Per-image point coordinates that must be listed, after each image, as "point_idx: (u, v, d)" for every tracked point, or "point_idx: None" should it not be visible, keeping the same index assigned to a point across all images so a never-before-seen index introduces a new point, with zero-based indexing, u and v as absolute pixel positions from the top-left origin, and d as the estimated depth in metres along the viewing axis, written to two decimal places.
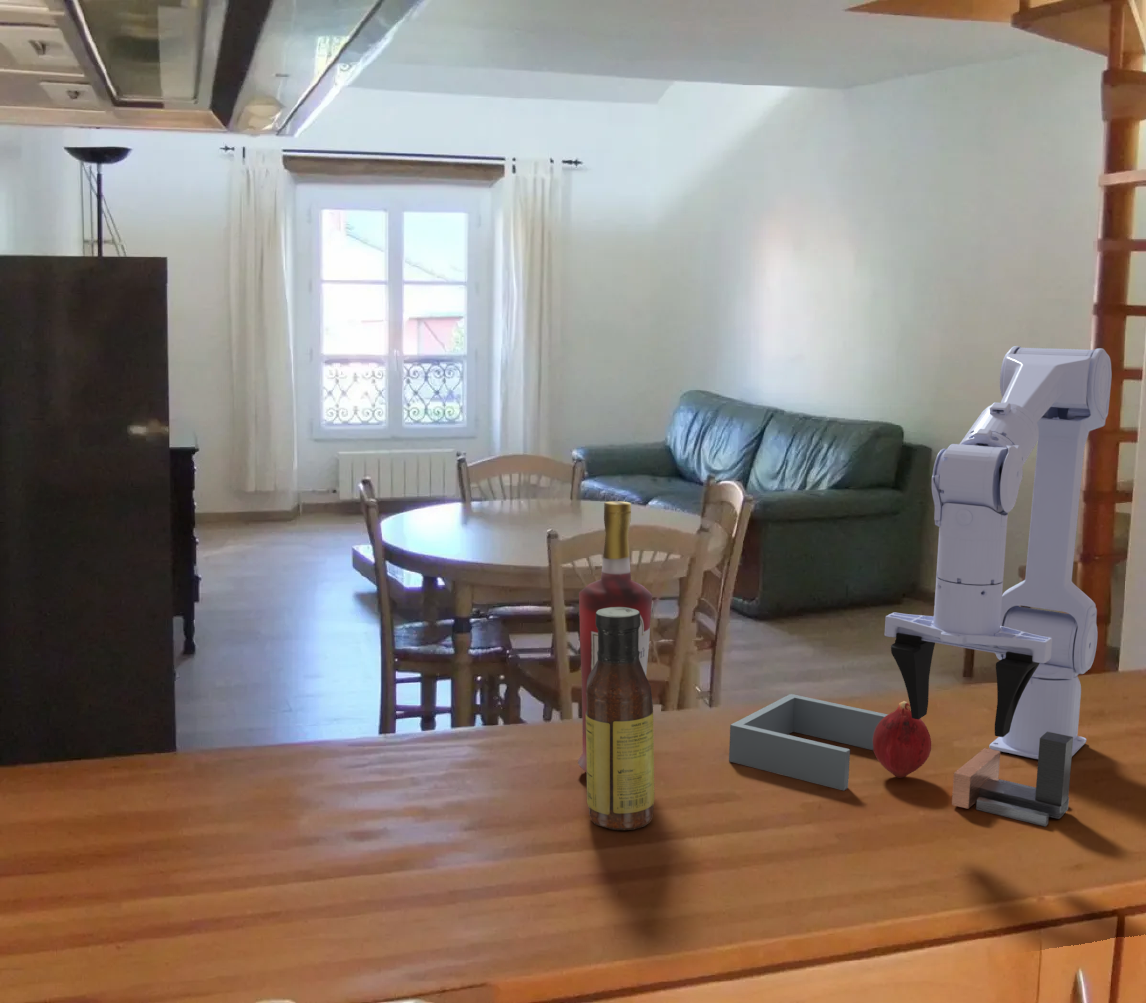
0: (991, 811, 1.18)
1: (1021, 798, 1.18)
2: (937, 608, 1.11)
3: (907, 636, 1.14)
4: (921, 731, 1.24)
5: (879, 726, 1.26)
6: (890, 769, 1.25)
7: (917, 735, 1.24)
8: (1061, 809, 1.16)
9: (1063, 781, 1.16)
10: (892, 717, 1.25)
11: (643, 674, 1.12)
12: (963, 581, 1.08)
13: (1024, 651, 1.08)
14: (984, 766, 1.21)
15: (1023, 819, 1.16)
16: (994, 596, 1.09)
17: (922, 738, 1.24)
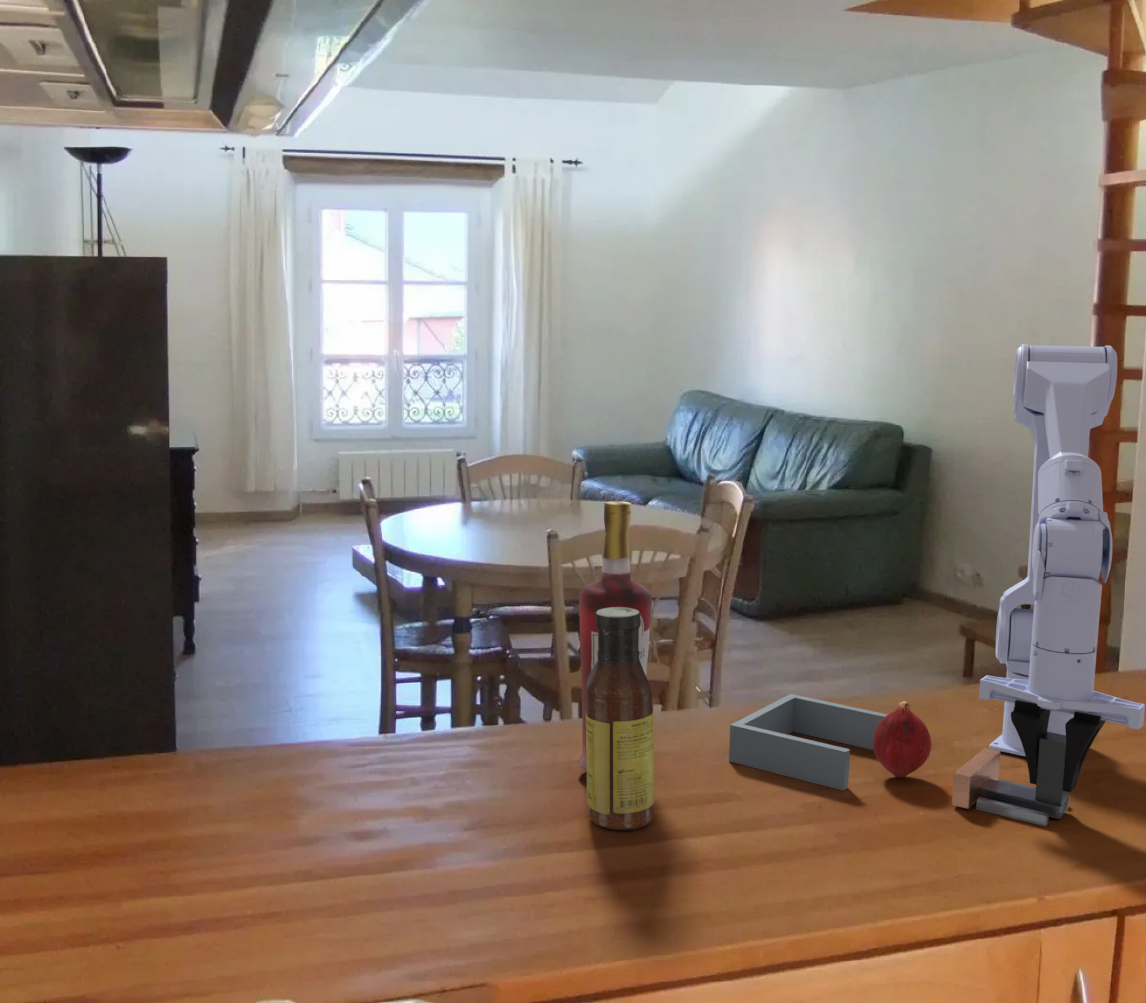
0: (991, 811, 1.18)
1: (1021, 798, 1.18)
2: (1033, 674, 1.16)
3: (1026, 704, 1.17)
4: (921, 731, 1.24)
5: (879, 726, 1.26)
6: (890, 769, 1.25)
7: (917, 735, 1.24)
8: (1061, 809, 1.16)
9: None
10: (892, 717, 1.25)
11: (643, 674, 1.12)
12: (1071, 651, 1.13)
13: (1118, 717, 1.13)
14: (984, 766, 1.21)
15: (1023, 819, 1.16)
16: (1089, 664, 1.13)
17: (922, 738, 1.24)
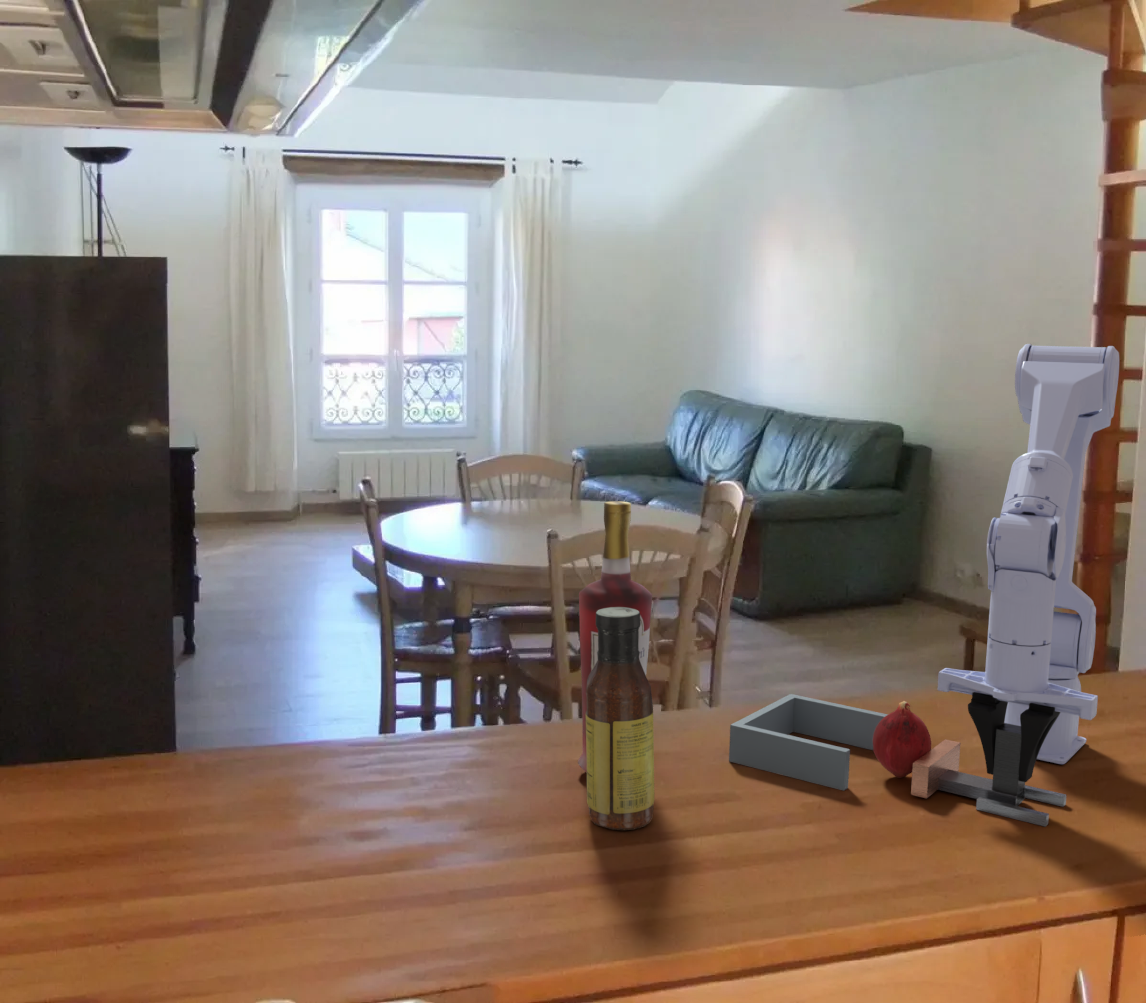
0: (991, 811, 1.18)
1: (978, 788, 1.20)
2: (989, 666, 1.18)
3: (983, 696, 1.20)
4: (921, 731, 1.24)
5: (879, 726, 1.26)
6: (890, 769, 1.25)
7: (917, 735, 1.24)
8: (1017, 799, 1.19)
9: None
10: (892, 717, 1.25)
11: (643, 674, 1.12)
12: (1018, 643, 1.15)
13: (1071, 708, 1.16)
14: (943, 757, 1.23)
15: (1023, 819, 1.16)
16: (1043, 656, 1.16)
17: (922, 738, 1.24)
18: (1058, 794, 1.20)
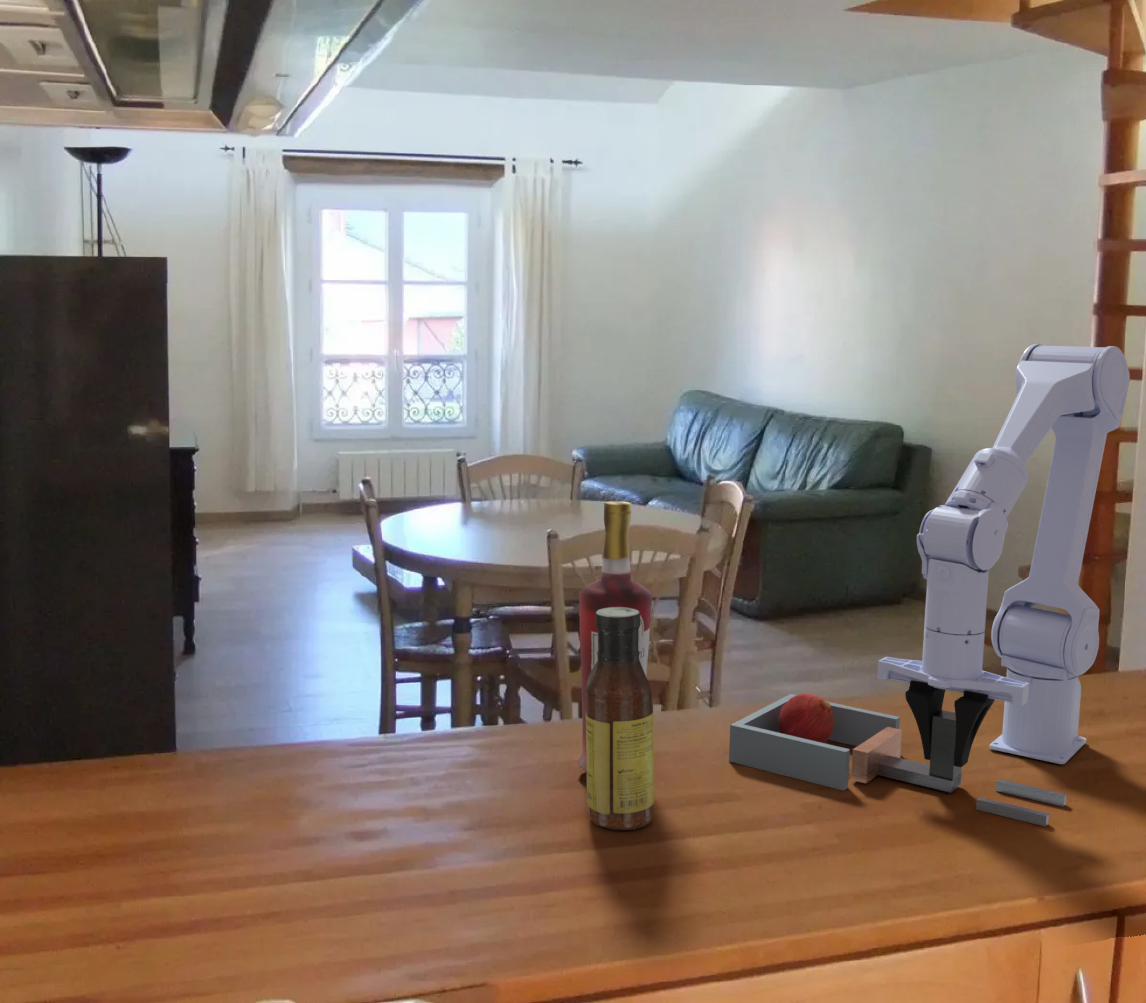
0: (991, 811, 1.18)
1: (916, 773, 1.24)
2: (925, 654, 1.22)
3: (920, 683, 1.24)
4: None
5: None
6: (810, 716, 1.31)
7: None
8: (953, 783, 1.23)
9: None
10: None
11: (643, 674, 1.12)
12: (942, 630, 1.19)
13: (1004, 695, 1.19)
14: (883, 743, 1.27)
15: (1023, 819, 1.16)
16: (977, 644, 1.20)
17: None
18: (1058, 794, 1.20)
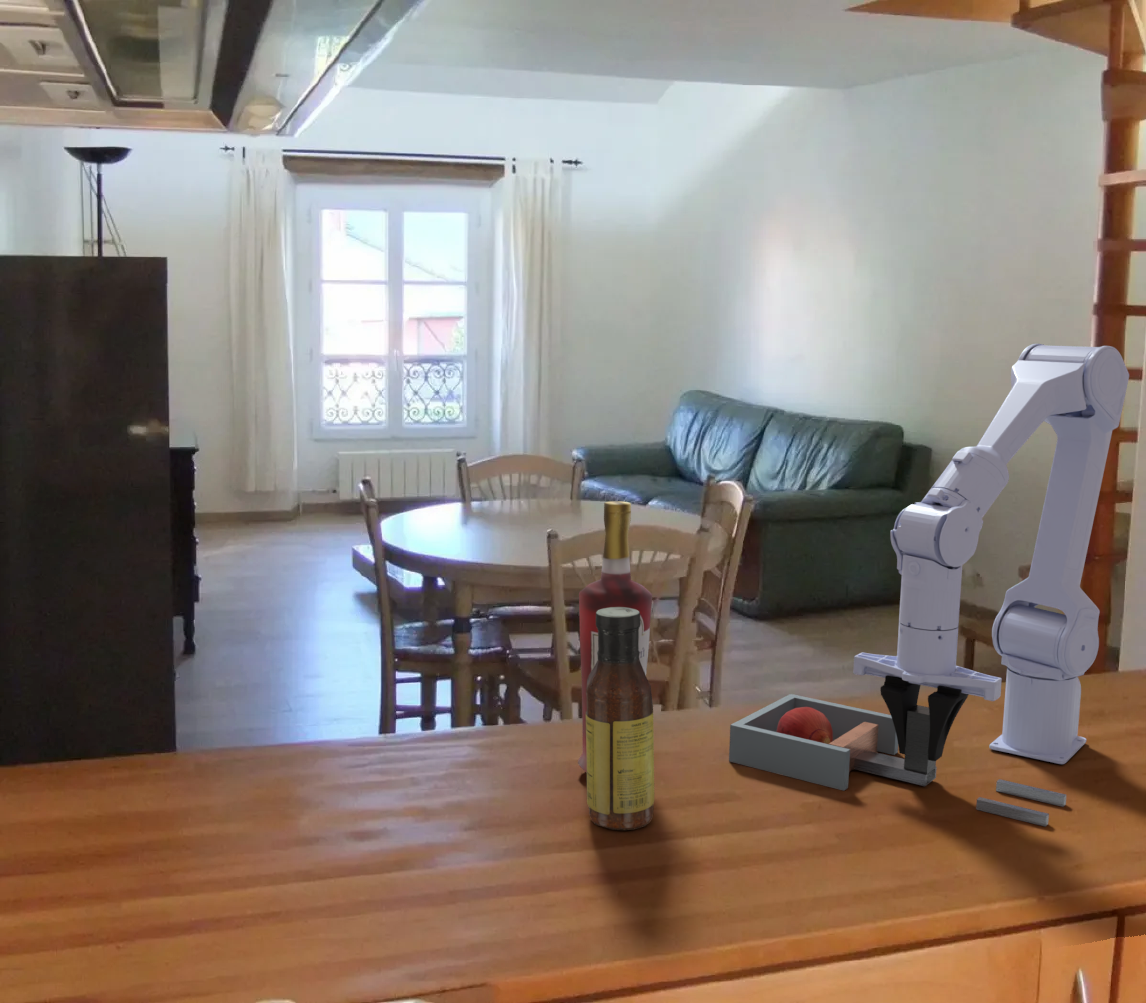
0: (991, 811, 1.18)
1: (891, 767, 1.26)
2: (900, 650, 1.23)
3: (895, 679, 1.25)
4: (779, 722, 1.31)
5: None
6: None
7: (777, 728, 1.31)
8: (927, 777, 1.24)
9: None
10: None
11: (643, 674, 1.12)
12: (912, 625, 1.21)
13: (977, 690, 1.21)
14: (859, 738, 1.29)
15: (1023, 819, 1.16)
16: (950, 640, 1.21)
17: (779, 724, 1.31)
18: (1058, 794, 1.20)
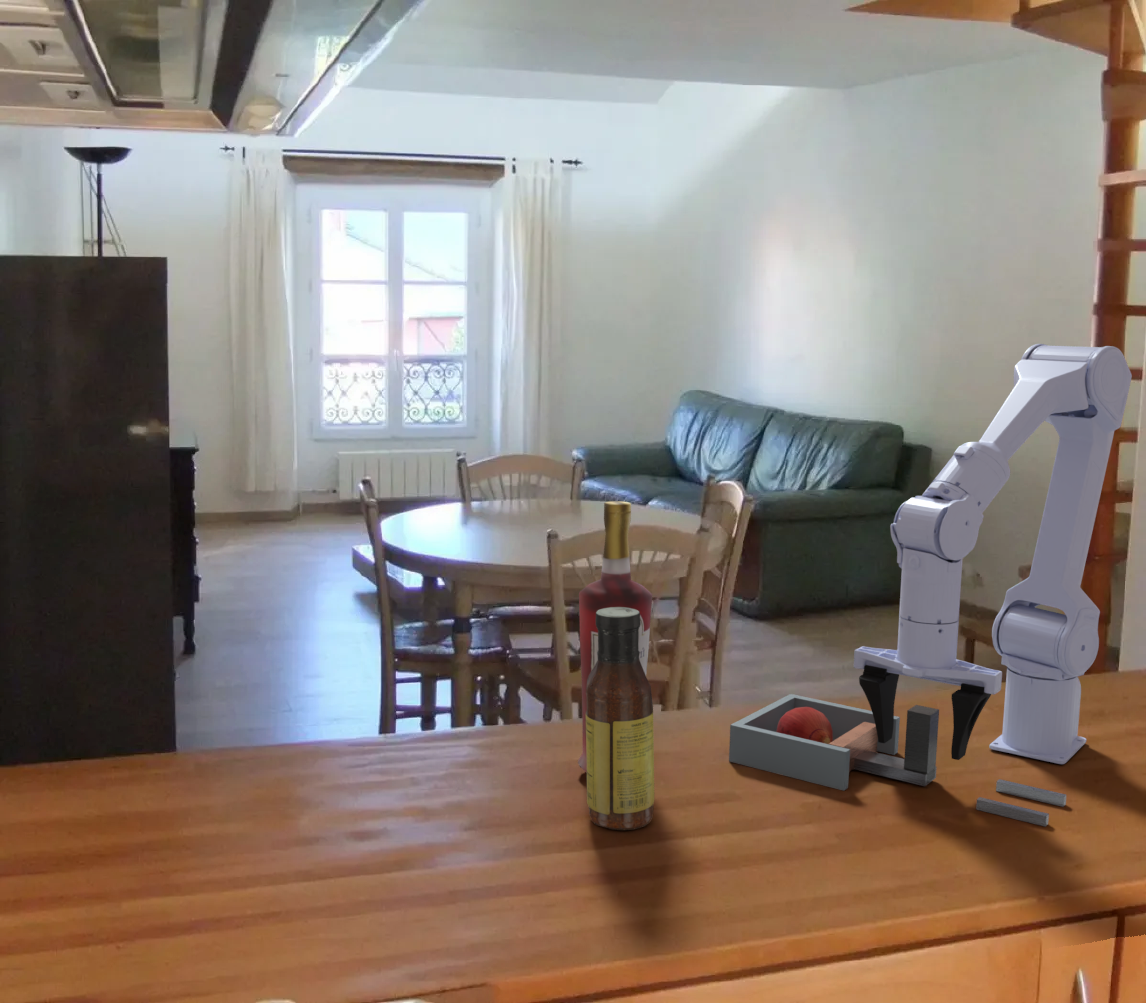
0: (991, 811, 1.18)
1: (891, 767, 1.26)
2: (900, 643, 1.23)
3: (874, 668, 1.26)
4: (779, 722, 1.31)
5: None
6: None
7: (777, 728, 1.31)
8: (927, 777, 1.24)
9: (928, 751, 1.24)
10: None
11: (643, 674, 1.12)
12: (912, 619, 1.21)
13: (977, 683, 1.21)
14: (859, 738, 1.29)
15: (1023, 819, 1.16)
16: (950, 633, 1.21)
17: (779, 724, 1.31)
18: (1058, 794, 1.20)
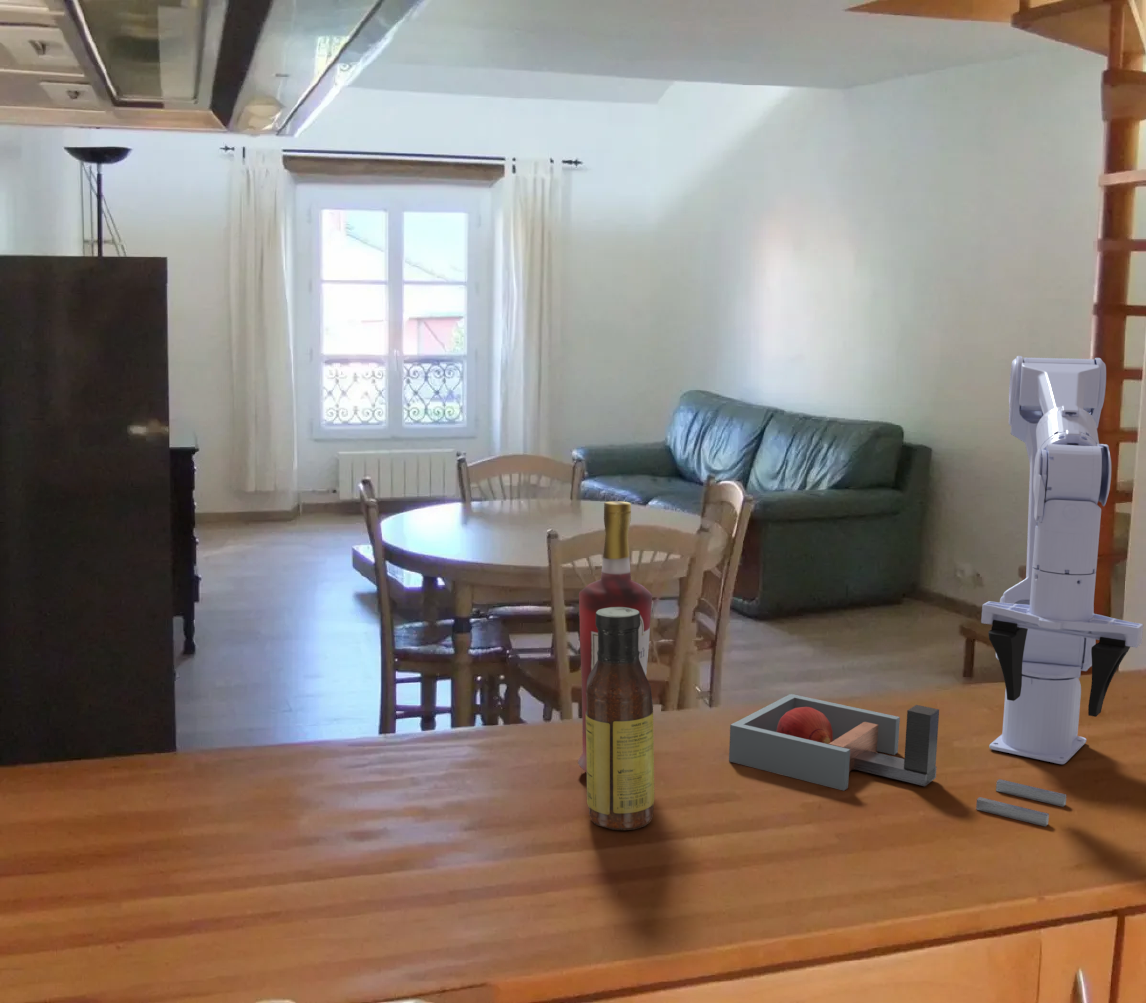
0: (991, 811, 1.18)
1: (891, 767, 1.26)
2: (1034, 596, 1.19)
3: (1003, 623, 1.22)
4: (779, 722, 1.31)
5: None
6: None
7: (777, 728, 1.31)
8: (927, 777, 1.24)
9: (928, 751, 1.24)
10: None
11: (643, 674, 1.12)
12: (1071, 572, 1.16)
13: (1117, 636, 1.16)
14: (859, 738, 1.29)
15: (1023, 819, 1.16)
16: (1089, 585, 1.17)
17: (779, 724, 1.31)
18: (1058, 794, 1.20)
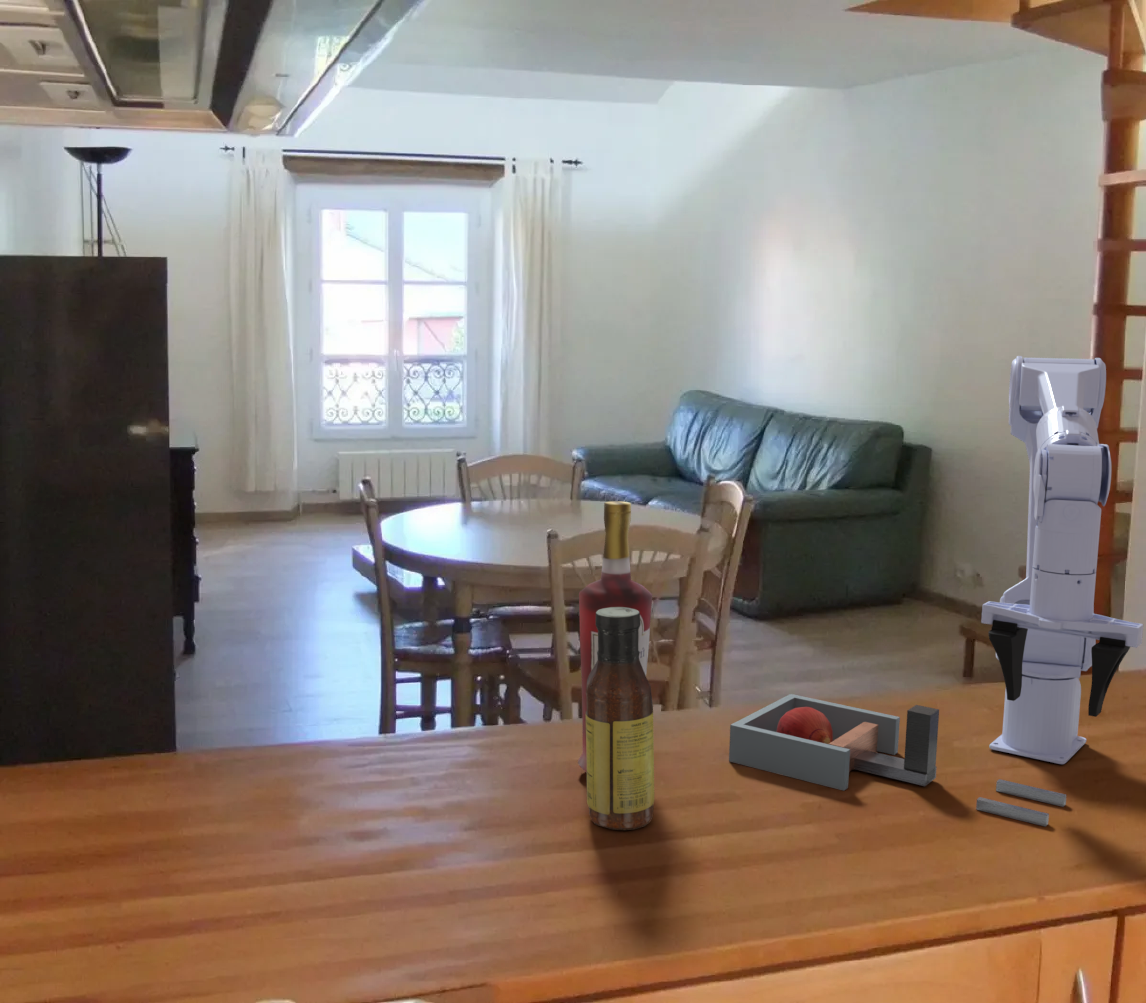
0: (991, 811, 1.18)
1: (891, 767, 1.26)
2: (1034, 596, 1.19)
3: (1003, 623, 1.22)
4: (779, 722, 1.31)
5: None
6: None
7: (777, 728, 1.31)
8: (927, 777, 1.24)
9: (928, 751, 1.24)
10: None
11: (643, 674, 1.12)
12: (1071, 572, 1.16)
13: (1117, 636, 1.16)
14: (859, 738, 1.29)
15: (1023, 819, 1.16)
16: (1089, 585, 1.17)
17: (779, 724, 1.31)
18: (1058, 794, 1.20)
